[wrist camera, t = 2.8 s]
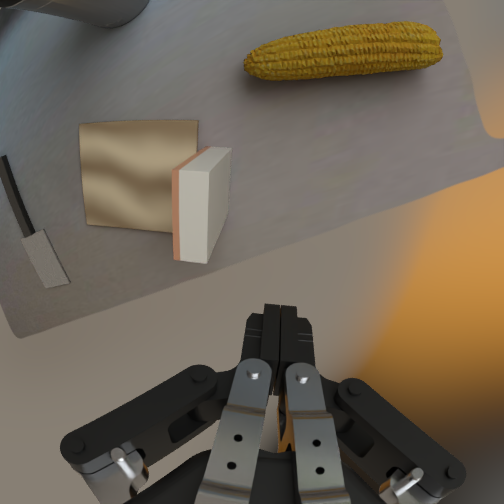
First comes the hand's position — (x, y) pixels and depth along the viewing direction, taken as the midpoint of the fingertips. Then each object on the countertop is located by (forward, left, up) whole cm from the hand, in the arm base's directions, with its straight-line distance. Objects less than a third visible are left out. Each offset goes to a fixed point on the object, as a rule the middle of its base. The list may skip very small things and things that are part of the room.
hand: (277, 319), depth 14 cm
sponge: (0, -7, -23) cm, 24 cm away
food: (-16, +6, -24) cm, 29 cm away
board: (0, -18, -23) cm, 29 cm away
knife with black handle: (+8, -39, -23) cm, 46 cm away
